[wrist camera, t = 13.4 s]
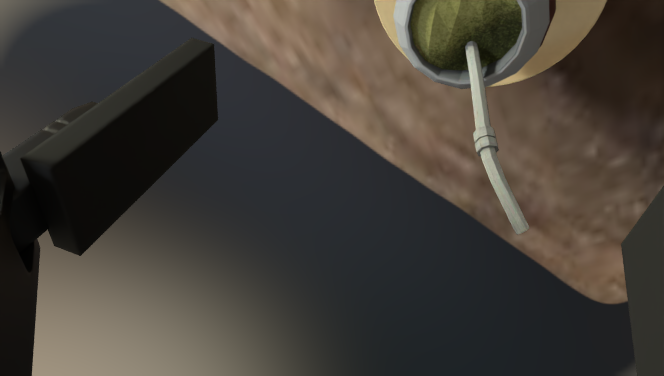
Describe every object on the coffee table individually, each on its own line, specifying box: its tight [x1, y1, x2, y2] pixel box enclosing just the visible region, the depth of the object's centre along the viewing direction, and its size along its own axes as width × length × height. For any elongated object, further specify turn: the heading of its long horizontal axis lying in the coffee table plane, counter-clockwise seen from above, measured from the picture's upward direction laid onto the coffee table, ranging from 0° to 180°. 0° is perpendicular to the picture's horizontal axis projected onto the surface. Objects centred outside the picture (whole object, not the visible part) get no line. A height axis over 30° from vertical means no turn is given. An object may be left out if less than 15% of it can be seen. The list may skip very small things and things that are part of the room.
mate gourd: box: [393, 0, 556, 234], centre depth 21 cm, size 8×8×15 cm
